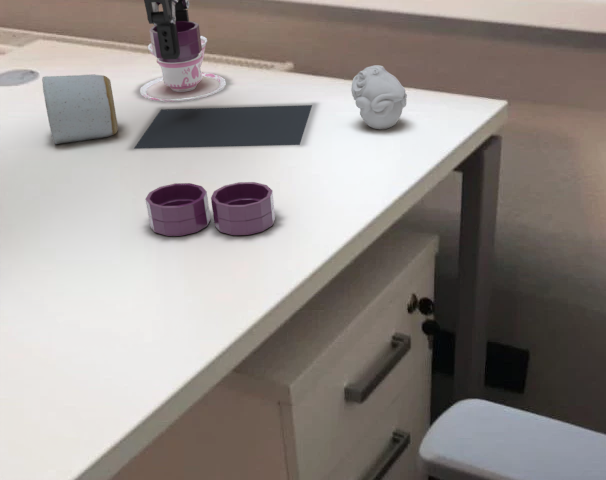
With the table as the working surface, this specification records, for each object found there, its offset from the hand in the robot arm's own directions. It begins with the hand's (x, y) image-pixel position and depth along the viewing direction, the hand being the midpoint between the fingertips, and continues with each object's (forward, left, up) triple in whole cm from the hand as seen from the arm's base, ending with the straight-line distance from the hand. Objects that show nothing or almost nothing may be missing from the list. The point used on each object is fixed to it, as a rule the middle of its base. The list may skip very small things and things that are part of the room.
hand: (177, 50), depth 108 cm
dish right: (+13, -32, -8) cm, 35 cm away
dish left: (0, 0, -1) cm, 1 cm away
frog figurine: (+25, -5, -9) cm, 27 cm away
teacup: (-3, +12, -9) cm, 15 cm away
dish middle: (+6, -32, -8) cm, 34 cm away
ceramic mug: (-12, -5, -9) cm, 16 cm away
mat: (+6, -4, -8) cm, 11 cm away
